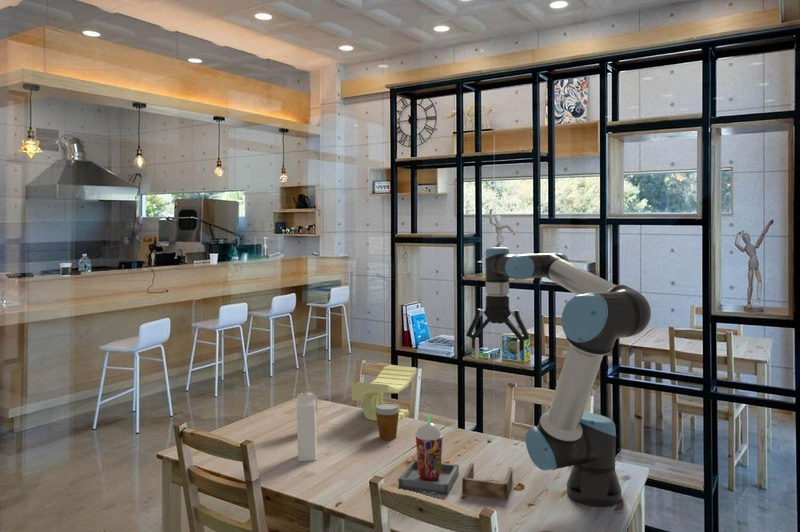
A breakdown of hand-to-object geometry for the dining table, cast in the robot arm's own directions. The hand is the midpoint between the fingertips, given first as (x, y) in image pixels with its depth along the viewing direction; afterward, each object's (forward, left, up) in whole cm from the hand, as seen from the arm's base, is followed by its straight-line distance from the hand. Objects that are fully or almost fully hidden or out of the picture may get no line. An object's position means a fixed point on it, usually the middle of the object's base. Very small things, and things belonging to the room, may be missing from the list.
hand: (497, 359), depth 188 cm
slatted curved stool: (+52, -35, -35) cm, 72 cm away
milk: (+63, +14, -35) cm, 73 cm away
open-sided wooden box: (0, +19, -35) cm, 40 cm away
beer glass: (+74, -8, -35) cm, 82 cm away
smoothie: (+18, +20, -34) cm, 43 cm away
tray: (+18, +20, -35) cm, 44 cm away
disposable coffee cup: (+43, -12, -35) cm, 57 cm away
